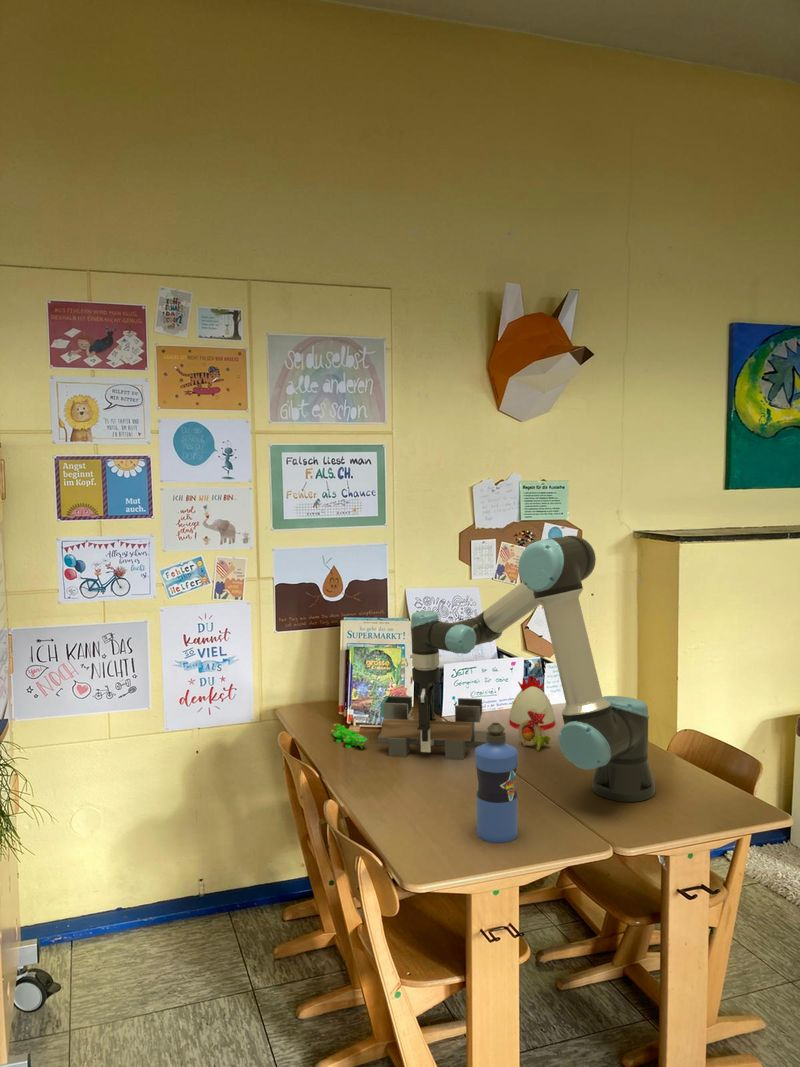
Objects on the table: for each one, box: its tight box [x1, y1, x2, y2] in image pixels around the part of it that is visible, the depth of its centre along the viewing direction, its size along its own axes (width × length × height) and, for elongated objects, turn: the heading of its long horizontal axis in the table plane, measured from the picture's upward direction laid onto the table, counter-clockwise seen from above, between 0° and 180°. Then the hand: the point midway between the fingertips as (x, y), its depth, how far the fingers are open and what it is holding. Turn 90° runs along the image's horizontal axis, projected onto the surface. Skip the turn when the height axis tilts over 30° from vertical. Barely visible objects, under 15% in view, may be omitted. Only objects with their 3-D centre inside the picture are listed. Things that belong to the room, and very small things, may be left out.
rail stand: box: [376, 695, 489, 748], centre depth 245 cm, size 9×32×12 cm, turn 79°
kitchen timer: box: [508, 675, 556, 732], centre depth 257 cm, size 14×14×15 cm
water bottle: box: [474, 722, 519, 844], centre depth 183 cm, size 9×9×25 cm
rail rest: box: [387, 738, 467, 761], centre depth 234 cm, size 6×21×5 cm, turn 79°
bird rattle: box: [518, 711, 551, 752], centre depth 237 cm, size 6×11×9 cm
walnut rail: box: [381, 718, 472, 741], centre depth 233 cm, size 4×25×4 cm, turn 79°
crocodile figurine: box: [331, 723, 368, 749], centre depth 245 cm, size 7×18×4 cm, turn 34°
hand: (427, 748), depth 234 cm, fingers open, 4 cm apart
